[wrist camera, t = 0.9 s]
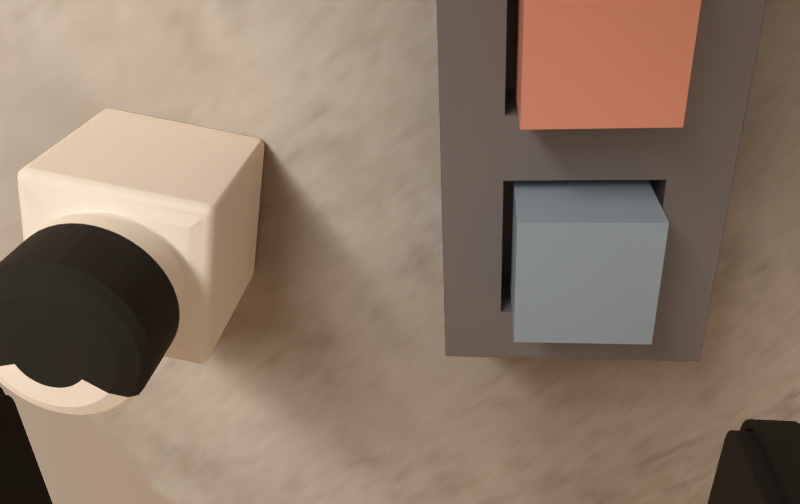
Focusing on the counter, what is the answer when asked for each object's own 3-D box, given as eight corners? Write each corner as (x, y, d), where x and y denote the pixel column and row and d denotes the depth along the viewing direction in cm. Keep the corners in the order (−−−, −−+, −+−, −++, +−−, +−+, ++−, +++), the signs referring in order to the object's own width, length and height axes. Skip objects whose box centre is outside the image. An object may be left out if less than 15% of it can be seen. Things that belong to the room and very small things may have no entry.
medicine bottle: (104, 104, 31) (-83, 235, 21) (267, 137, 31) (160, 284, 21) (109, 246, 35) (-49, 418, 25) (255, 275, 35) (159, 459, 25)
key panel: (435, -453, 22) (424, -526, 17) (791, -489, 21) (874, -577, 16) (450, 290, 34) (445, 356, 30) (671, 292, 33) (699, 360, 29)
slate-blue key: (513, 179, 27) (517, 222, 24) (648, 178, 26) (669, 222, 23) (510, 289, 29) (513, 342, 26) (633, 291, 29) (651, 344, 26)
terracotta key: (519, -54, 23) (525, -38, 20) (677, -61, 23) (708, -45, 19) (515, 95, 25) (520, 129, 22) (658, 92, 25) (683, 127, 22)
